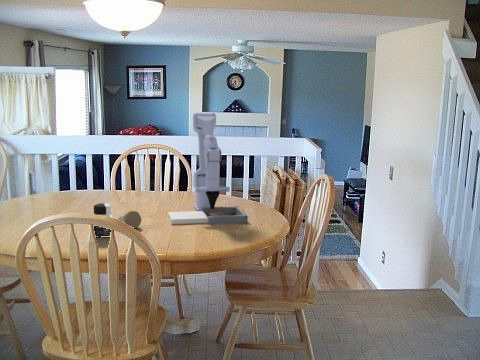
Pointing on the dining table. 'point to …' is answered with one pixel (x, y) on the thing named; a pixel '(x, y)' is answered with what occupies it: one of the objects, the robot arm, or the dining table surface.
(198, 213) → the board
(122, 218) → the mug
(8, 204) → the dining table surface
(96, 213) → the medicine bottle
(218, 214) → the tile
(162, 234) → the dining table surface
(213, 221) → the box
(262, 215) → the dining table surface
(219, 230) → the dining table surface
